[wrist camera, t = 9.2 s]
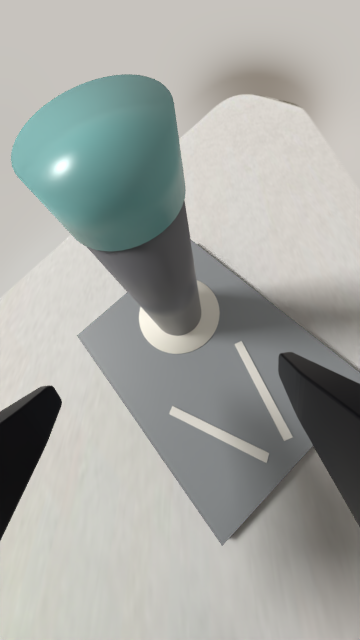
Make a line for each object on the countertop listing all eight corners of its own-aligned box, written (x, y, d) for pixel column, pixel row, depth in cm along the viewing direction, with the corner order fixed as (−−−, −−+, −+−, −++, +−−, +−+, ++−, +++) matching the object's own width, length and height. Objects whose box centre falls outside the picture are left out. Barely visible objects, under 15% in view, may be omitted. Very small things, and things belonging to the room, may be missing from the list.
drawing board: (362, 381, 14) (371, 381, 13) (221, 536, 13) (222, 547, 12) (190, 244, 20) (189, 238, 19) (82, 337, 19) (76, 335, 18)
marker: (208, 330, 16) (192, 152, 4) (158, 342, 16) (2, 213, 4) (196, 285, 18) (157, 56, 5) (150, 297, 18) (18, 107, 6)
